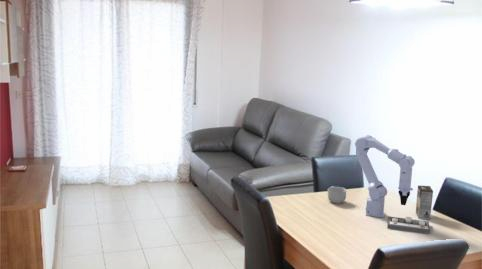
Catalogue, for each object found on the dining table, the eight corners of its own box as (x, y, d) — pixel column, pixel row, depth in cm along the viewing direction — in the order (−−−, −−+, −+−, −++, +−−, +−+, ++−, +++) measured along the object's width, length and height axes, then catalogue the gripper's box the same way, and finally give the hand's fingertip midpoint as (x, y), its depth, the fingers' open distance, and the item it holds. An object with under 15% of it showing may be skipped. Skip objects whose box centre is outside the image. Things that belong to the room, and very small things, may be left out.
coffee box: (415, 212, 242) (417, 185, 239) (427, 213, 241) (429, 185, 238) (418, 218, 233) (420, 190, 230) (430, 219, 232) (433, 190, 229)
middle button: (405, 222, 222) (405, 218, 221) (405, 220, 225) (405, 216, 224) (411, 223, 221) (411, 219, 220) (411, 221, 224) (411, 217, 223)
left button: (391, 224, 224) (392, 219, 224) (391, 222, 227) (392, 217, 227) (397, 224, 223) (398, 220, 223) (397, 222, 226) (398, 218, 226)
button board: (387, 228, 220) (387, 223, 219) (387, 219, 231) (388, 215, 231) (429, 234, 213) (430, 229, 213) (428, 225, 224) (428, 220, 224)
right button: (418, 227, 220) (419, 223, 220) (418, 225, 223) (418, 220, 222) (424, 228, 219) (425, 223, 219) (424, 226, 222) (425, 221, 221)
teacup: (347, 205, 252) (348, 192, 251) (328, 205, 253) (329, 191, 251) (342, 197, 266) (342, 184, 265) (324, 197, 266) (325, 184, 265)
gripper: (414, 184, 216) (411, 210, 219) (413, 176, 230) (410, 201, 232) (399, 182, 219) (397, 208, 221) (399, 175, 232) (396, 199, 235)
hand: (403, 204), depth 227 cm, fingers closed
